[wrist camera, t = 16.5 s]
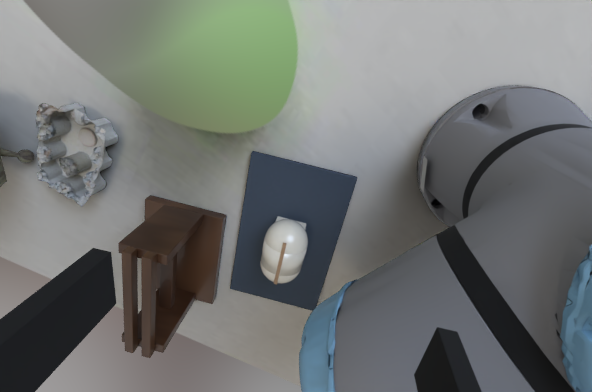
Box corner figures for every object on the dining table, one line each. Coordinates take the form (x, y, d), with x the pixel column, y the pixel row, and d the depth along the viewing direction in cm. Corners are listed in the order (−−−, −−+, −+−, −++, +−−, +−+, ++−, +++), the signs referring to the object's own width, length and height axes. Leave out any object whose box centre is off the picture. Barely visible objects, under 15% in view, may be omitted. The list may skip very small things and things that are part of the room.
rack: (226, 214, 40) (187, 268, 30) (215, 298, 46) (179, 366, 36) (150, 195, 40) (86, 242, 30) (149, 280, 46) (95, 343, 36)
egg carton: (68, 93, 36) (36, 97, 32) (128, 129, 37) (104, 138, 33) (49, 167, 40) (19, 179, 37) (103, 198, 41) (79, 212, 37)
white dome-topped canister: (314, 217, 37) (310, 240, 33) (299, 270, 41) (294, 297, 36) (273, 207, 38) (263, 228, 33) (262, 260, 41) (252, 286, 36)
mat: (356, 176, 35) (357, 178, 35) (315, 308, 44) (314, 311, 43) (252, 150, 36) (251, 152, 35) (231, 285, 44) (229, 288, 44)
